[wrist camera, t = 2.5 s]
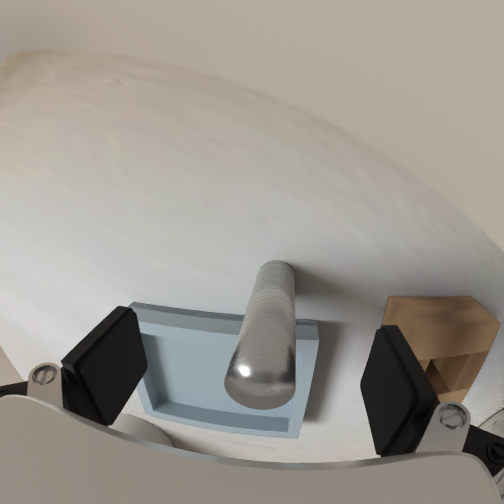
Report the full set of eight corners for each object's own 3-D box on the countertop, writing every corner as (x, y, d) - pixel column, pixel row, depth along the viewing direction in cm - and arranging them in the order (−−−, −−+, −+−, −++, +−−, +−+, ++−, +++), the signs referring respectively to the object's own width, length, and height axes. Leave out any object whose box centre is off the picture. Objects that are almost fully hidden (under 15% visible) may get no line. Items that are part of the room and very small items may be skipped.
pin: (295, 261, 17) (300, 363, 8) (293, 295, 18) (291, 411, 8) (258, 259, 18) (222, 357, 8) (257, 293, 18) (225, 405, 9)
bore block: (470, 296, 16) (500, 323, 12) (440, 374, 18) (458, 406, 14) (388, 296, 17) (412, 331, 13) (364, 381, 19) (374, 421, 15)
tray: (316, 320, 18) (319, 340, 16) (298, 418, 21) (298, 438, 19) (133, 302, 20) (117, 316, 18) (155, 397, 23) (146, 414, 21)
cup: (170, 428, 25) (138, 496, 15) (176, 458, 27) (153, 515, 18) (107, 404, 25) (67, 460, 16) (121, 439, 28) (92, 488, 18)
